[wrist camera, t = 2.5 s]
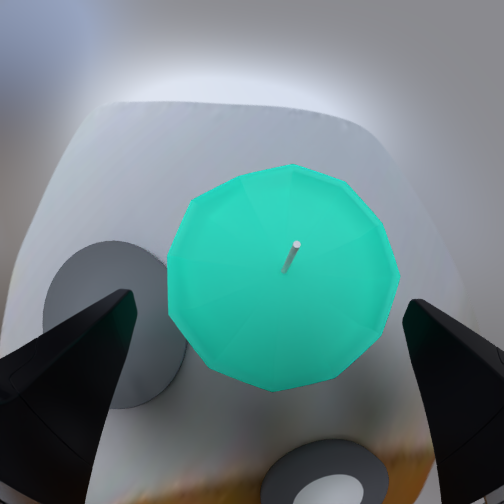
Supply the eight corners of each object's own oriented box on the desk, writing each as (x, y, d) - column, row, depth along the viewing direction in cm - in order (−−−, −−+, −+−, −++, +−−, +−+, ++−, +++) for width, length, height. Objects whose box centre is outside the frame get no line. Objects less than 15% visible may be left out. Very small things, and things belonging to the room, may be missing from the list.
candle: (315, 269, 17) (411, 150, 6) (307, 365, 16) (423, 402, 4) (220, 258, 18) (179, 118, 6) (207, 354, 16) (116, 378, 4)
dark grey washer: (380, 503, 12) (391, 515, 10) (273, 537, 11) (276, 553, 9) (369, 422, 14) (383, 429, 12) (247, 457, 14) (247, 471, 12)
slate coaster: (206, 398, 15) (204, 401, 14) (62, 406, 14) (56, 408, 13) (174, 229, 18) (171, 224, 17) (46, 261, 17) (40, 258, 16)
